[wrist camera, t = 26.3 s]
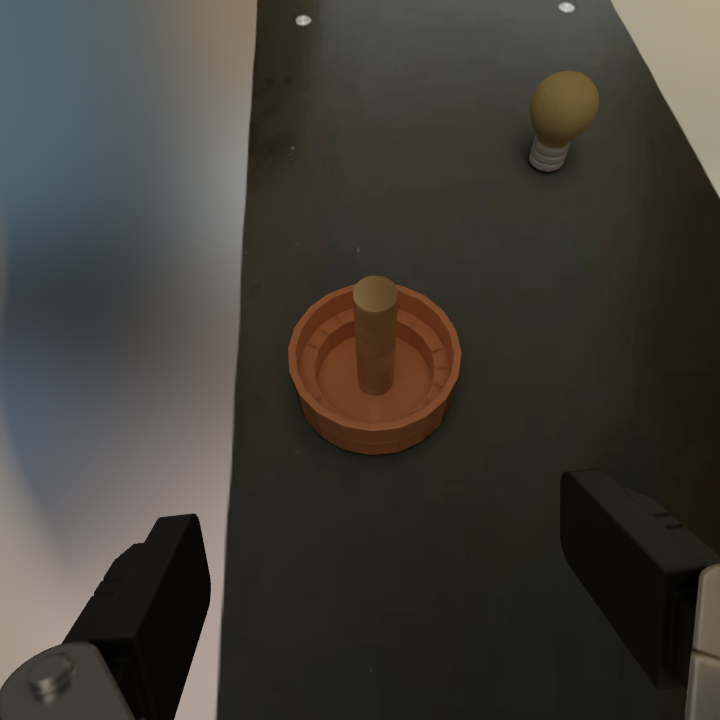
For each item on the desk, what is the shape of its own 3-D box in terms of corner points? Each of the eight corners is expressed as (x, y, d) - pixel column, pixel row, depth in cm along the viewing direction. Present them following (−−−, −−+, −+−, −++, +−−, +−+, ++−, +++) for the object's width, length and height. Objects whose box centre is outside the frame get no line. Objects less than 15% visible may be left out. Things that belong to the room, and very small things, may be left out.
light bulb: (526, 187, 57) (553, 101, 49) (507, 149, 61) (529, 62, 52) (583, 179, 58) (619, 92, 49) (561, 141, 61) (592, 53, 53)
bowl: (301, 466, 42) (292, 439, 38) (294, 328, 49) (285, 291, 44) (466, 447, 43) (477, 419, 38) (436, 313, 50) (443, 275, 45)
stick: (360, 397, 45) (354, 314, 34) (356, 366, 46) (350, 277, 36) (395, 393, 45) (401, 309, 34) (390, 363, 46) (394, 273, 36)
